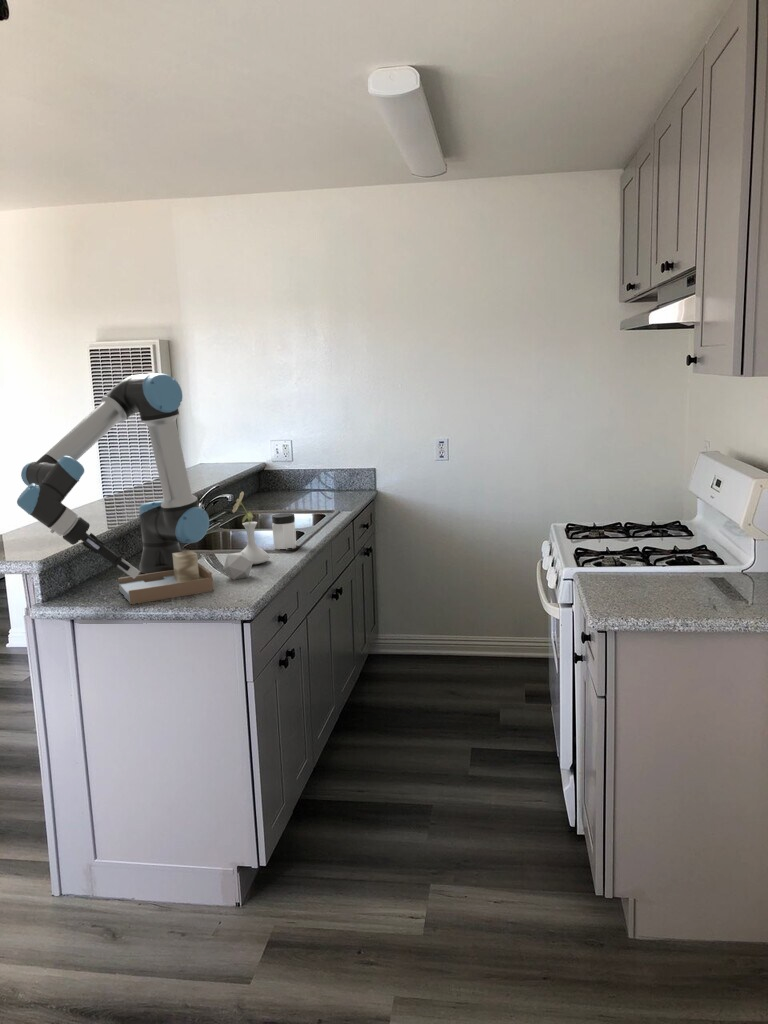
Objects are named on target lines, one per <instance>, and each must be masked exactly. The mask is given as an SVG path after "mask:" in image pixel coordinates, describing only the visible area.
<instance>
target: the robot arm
mask: <svg viewBox="0 0 768 1024" xmlns="http://www.w3.org/2000/svg"><path fill="white" fill-rule="evenodd" d="M182 401H183V390H182V388H181V386H180V384H179V382H178V380H176V378H174V377H173V376H171V375H169V374H166V373H159V372H155V373H154V372H152V373H142V374H140V373H139V374H133V375H130V376H128V377H126V378H123V380H121V381H119V383H117V384H116V385H114V386H113V388H111V389H110V390H109V391H108V392H106V394H105V395H104V396H102V397H101V399H100V402H101V403H100V404H98V406H96V407H95V408H94V409H93V410H92V411H91V412H90V413H89V414H88V415H87V416H85V417H84V418H82V420H81V421H80V422H79V423H78V424H77V425H75V426H74V427H73V428H72V429H70V431H69V432H67V434H66V435H65V436H63V437H62V438H61V439H60V440H59V441H57V443H55V445H53V446H52V447H51V448H50V449H49V450H48V451H47V452H46V453H44V454H43V455H42V456H41V457H40V458H39V459H38V460H36V461H32V462H29V463H26V464H25V465H24V466H23V467H22V469H21V473H20V474H21V475H20V477H21V480H22V482H23V483H24V485H26V486H27V487H26V488H25V489H24V490H23V491H22V492H21V493H20V495H19V497H18V498H17V500H16V504H17V506H19V508H20V509H22V510H23V511H24V512H26V513H27V514H28V515H29V516H31V517H32V518H34V519H35V520H37V521H39V523H41V524H43V525H44V526H45V527H47V528H49V529H50V533H51V534H56V535H57V536H62V539H63V540H65V541H66V542H67V543H68V544H70V545H72V546H73V545H76V544H78V542H79V541H82V542H81V544H82V545H83V546H84V547H85V548H87V549H89V550H91V551H92V552H94V553H95V554H98V555H100V556H101V557H103V558H104V559H106V560H107V561H108V562H110V563H111V564H113V565H112V566H113V568H115V569H116V568H118V569H119V570H121V571H122V572H123V573H125V574H126V575H128V577H130V576H131V577H132V578H133V579H135V578H136V576H137V575H140V573H142V574H149V573H156V572H163V571H169V570H174V566H173V555H172V553H178V552H183V551H182V548H181V545H180V543H181V544H194V543H199V542H200V541H201V540H202V539H203V538H204V537H205V536H206V533H207V532H208V531H209V527H210V516H209V514H208V512H207V511H206V510H205V509H203V508H202V507H200V504H199V500H198V497H197V496H196V495H194V494H192V490H191V485H190V481H189V477H188V473H187V472H188V471H187V468H186V462H185V458H184V454H183V449H182V444H181V439H180V435H179V431H178V426H177V420H176V419H177V418H178V417H179V416H180V411H179V408H180V406H181V403H182ZM137 413H139V416H140V417H139V418H140V421H141V422H142V423H143V424H145V425H146V426H147V428H148V433H149V437H150V443H151V446H152V452H153V456H154V459H155V463H156V468H157V473H158V478H159V483H160V486H161V490H162V495H163V499H162V500H157V501H156V500H155V501H150V502H145V503H142V504H140V505H139V515H138V516H139V520H140V521H139V522H140V530H141V539H142V541H141V542H142V552H141V558H140V562H139V569H138V568H136V567H135V566H134V565H132V564H131V563H129V562H128V561H126V560H125V559H124V558H122V557H123V555H122V554H119V555H118V553H116V552H114V551H113V550H111V549H110V548H108V547H107V546H106V545H105V544H104V543H103V542H102V541H101V540H100V539H99V538H98V537H97V536H96V535H95V534H94V533H92V532H90V534H88V531H89V529H90V523H89V522H88V521H86V520H85V519H84V518H82V517H81V516H79V515H78V514H77V513H76V512H75V511H73V510H72V509H70V508H69V507H68V506H66V504H63V501H64V500H65V498H66V497H67V496H68V495H69V493H70V492H71V491H72V489H73V488H74V487H75V486H76V485H77V483H79V482H80V480H81V478H82V477H83V475H84V473H85V468H84V466H83V465H82V464H81V463H80V462H79V461H78V460H79V459H80V458H81V457H82V456H84V454H86V453H87V452H88V450H90V449H91V448H92V447H93V446H94V445H95V444H96V443H97V442H99V440H101V439H102V438H103V437H104V436H105V435H106V434H107V433H108V432H109V431H110V430H111V429H112V428H114V427H115V426H116V425H117V424H118V423H119V422H125V421H126V420H128V418H130V417H131V416H133V415H135V414H137Z"/></svg>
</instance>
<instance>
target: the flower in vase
mask: <svg viewBox="0 0 768 1024" xmlns="http://www.w3.org/2000/svg"><path fill="white" fill-rule="evenodd" d="M244 495H245V493H244V491H241V492H240V493H239V496H238V498H237V499H236V500H235V502H236V503H234V505H233V507H232V508H233V509H232V510H231V512H232V513H233V514H234V513H235V512H237V510H238V508H239V507H240V506H242V508H243V509H244V511H245V513H246V514H245V515H244V516H243V517H242V521H241V523H242V525H243V527H244V528H245V532H246V536H247V545H246V546H245V547H244V548H243V549H242V550H241V551H240V552H243V553H244V554H245V555H246V556H247V557H248V558H249V559H250V560H251V561H252V562H253V564H252V566H253V565H259V564H262V563H266V562H267V561H268V560H269V559H270V555H269V553H267V552H266V551H265V550H264V549H262V548H261V547H260V546H258V545H257V543H256V541H255V530H256V527H257V524H258V522H257V521H251V520H252V519H253V518H254V515H253V514H252V511H250V510H249V511H247V508H245V506H244V504H243V503H242V502H243V501H242V500H243V497H244ZM246 520H248V521H246ZM245 521H246V522H245Z"/></svg>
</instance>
